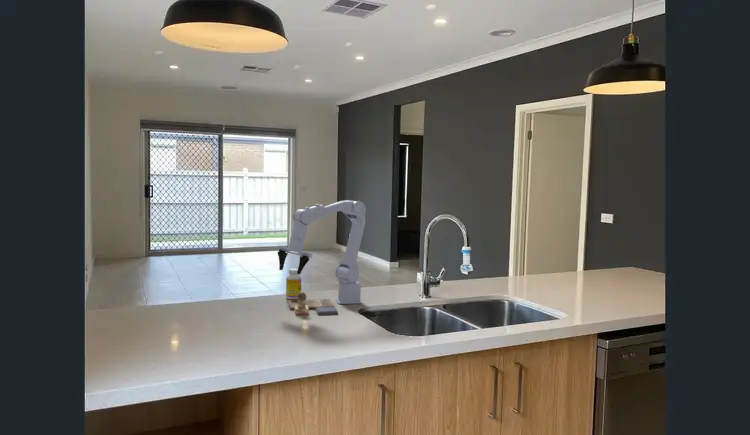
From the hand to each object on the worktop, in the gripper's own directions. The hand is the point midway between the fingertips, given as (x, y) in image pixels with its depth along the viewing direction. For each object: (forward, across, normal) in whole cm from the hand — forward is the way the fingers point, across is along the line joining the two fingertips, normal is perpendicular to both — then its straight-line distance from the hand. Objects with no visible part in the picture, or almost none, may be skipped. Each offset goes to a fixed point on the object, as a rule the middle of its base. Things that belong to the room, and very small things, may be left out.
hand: (289, 272), depth 213 cm
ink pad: (+12, +17, +6) cm, 22 cm away
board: (+12, +7, +14) cm, 20 cm away
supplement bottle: (+12, -4, +25) cm, 28 cm away
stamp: (+15, +8, +2) cm, 17 cm away
